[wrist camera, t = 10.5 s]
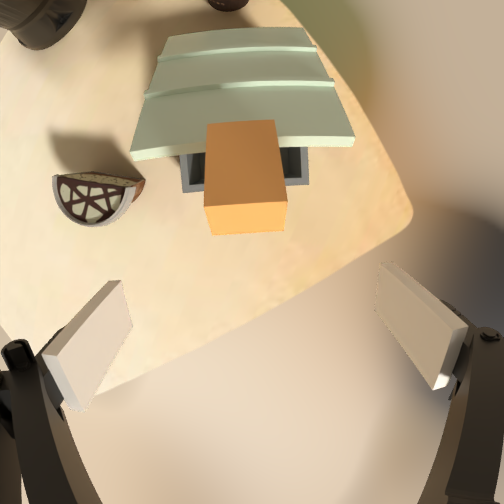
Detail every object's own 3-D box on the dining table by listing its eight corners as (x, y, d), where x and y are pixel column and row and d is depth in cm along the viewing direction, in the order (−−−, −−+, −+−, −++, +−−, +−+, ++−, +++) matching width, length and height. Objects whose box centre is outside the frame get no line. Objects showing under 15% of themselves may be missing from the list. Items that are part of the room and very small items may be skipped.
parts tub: (189, 66, 36) (174, 43, 27) (286, 60, 36) (298, 34, 27) (196, 185, 42) (182, 193, 32) (294, 178, 42) (309, 184, 32)
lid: (170, 47, 27) (166, 26, 24) (302, 38, 27) (303, 16, 24) (123, 242, 17) (102, 217, 14) (373, 226, 17) (390, 198, 14)
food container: (81, 207, 42) (46, 221, 32) (85, 170, 40) (49, 175, 31) (148, 221, 43) (124, 238, 34) (154, 181, 41) (130, 188, 32)
